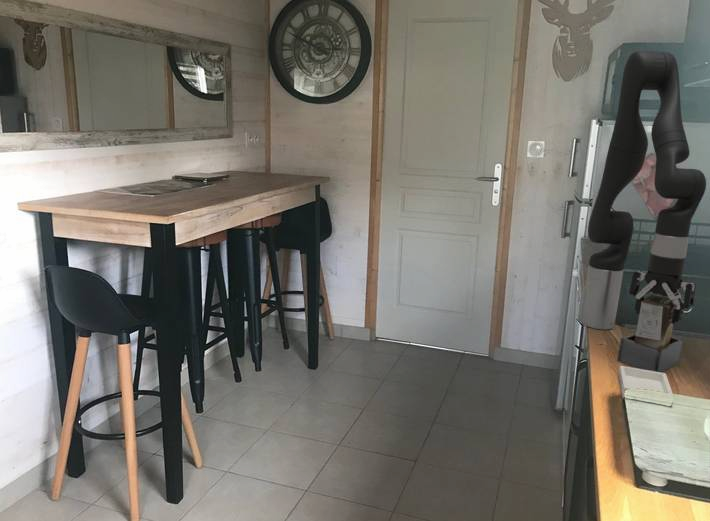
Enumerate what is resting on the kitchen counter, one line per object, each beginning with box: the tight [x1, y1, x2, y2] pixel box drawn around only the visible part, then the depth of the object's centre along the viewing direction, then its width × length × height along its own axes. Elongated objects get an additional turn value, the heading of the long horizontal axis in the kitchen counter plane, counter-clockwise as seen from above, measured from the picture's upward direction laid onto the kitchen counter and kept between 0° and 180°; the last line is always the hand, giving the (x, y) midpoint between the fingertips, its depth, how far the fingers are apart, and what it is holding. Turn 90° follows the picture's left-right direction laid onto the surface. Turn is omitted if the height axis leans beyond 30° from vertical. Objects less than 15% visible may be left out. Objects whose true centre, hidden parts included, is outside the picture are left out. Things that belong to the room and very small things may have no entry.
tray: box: [618, 365, 674, 399], centre depth 134 cm, size 13×10×2 cm
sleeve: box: [616, 332, 685, 373], centre depth 149 cm, size 10×13×6 cm
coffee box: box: [634, 294, 675, 349], centre depth 148 cm, size 9×6×16 cm
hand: (656, 318), depth 147 cm, fingers open, 8 cm apart
